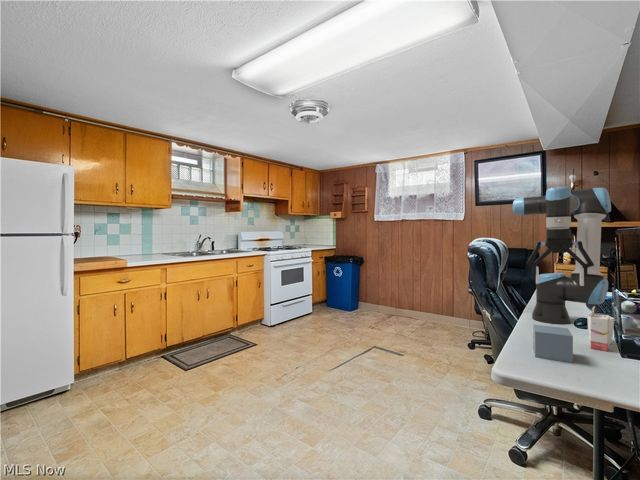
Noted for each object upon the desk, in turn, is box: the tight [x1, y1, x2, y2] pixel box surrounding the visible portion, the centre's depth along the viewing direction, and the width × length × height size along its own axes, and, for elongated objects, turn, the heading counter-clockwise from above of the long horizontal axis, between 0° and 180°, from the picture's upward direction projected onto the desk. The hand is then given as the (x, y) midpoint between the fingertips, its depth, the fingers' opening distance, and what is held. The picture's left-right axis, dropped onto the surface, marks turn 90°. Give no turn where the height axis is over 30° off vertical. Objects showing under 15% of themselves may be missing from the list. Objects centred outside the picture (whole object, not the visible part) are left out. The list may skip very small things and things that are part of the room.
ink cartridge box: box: [590, 305, 611, 352], centre depth 119 cm, size 9×5×15 cm, turn 134°
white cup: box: [586, 313, 615, 345], centre depth 125 cm, size 8×8×10 cm
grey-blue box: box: [532, 324, 574, 363], centre depth 111 cm, size 10×10×9 cm
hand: (558, 284), depth 121 cm, fingers open, 13 cm apart
